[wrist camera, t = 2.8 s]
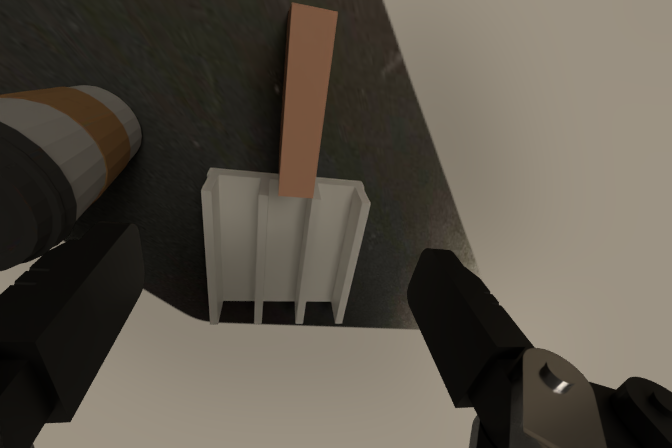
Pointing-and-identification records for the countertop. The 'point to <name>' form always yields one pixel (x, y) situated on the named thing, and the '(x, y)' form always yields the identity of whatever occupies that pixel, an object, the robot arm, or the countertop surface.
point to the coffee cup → (57, 162)
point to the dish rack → (280, 241)
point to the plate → (304, 96)
